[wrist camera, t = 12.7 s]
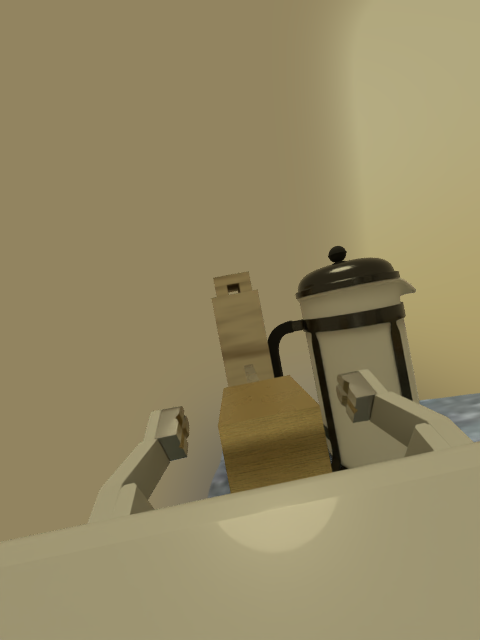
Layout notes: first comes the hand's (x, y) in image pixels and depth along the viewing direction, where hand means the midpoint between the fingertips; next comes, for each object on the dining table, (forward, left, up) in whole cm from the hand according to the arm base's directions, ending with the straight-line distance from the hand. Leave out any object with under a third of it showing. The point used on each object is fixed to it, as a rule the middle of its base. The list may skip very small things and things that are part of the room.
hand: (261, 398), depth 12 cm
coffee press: (+20, -14, -19) cm, 30 cm away
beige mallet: (+6, 0, -4) cm, 7 cm away
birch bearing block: (+22, 0, -18) cm, 28 cm away
